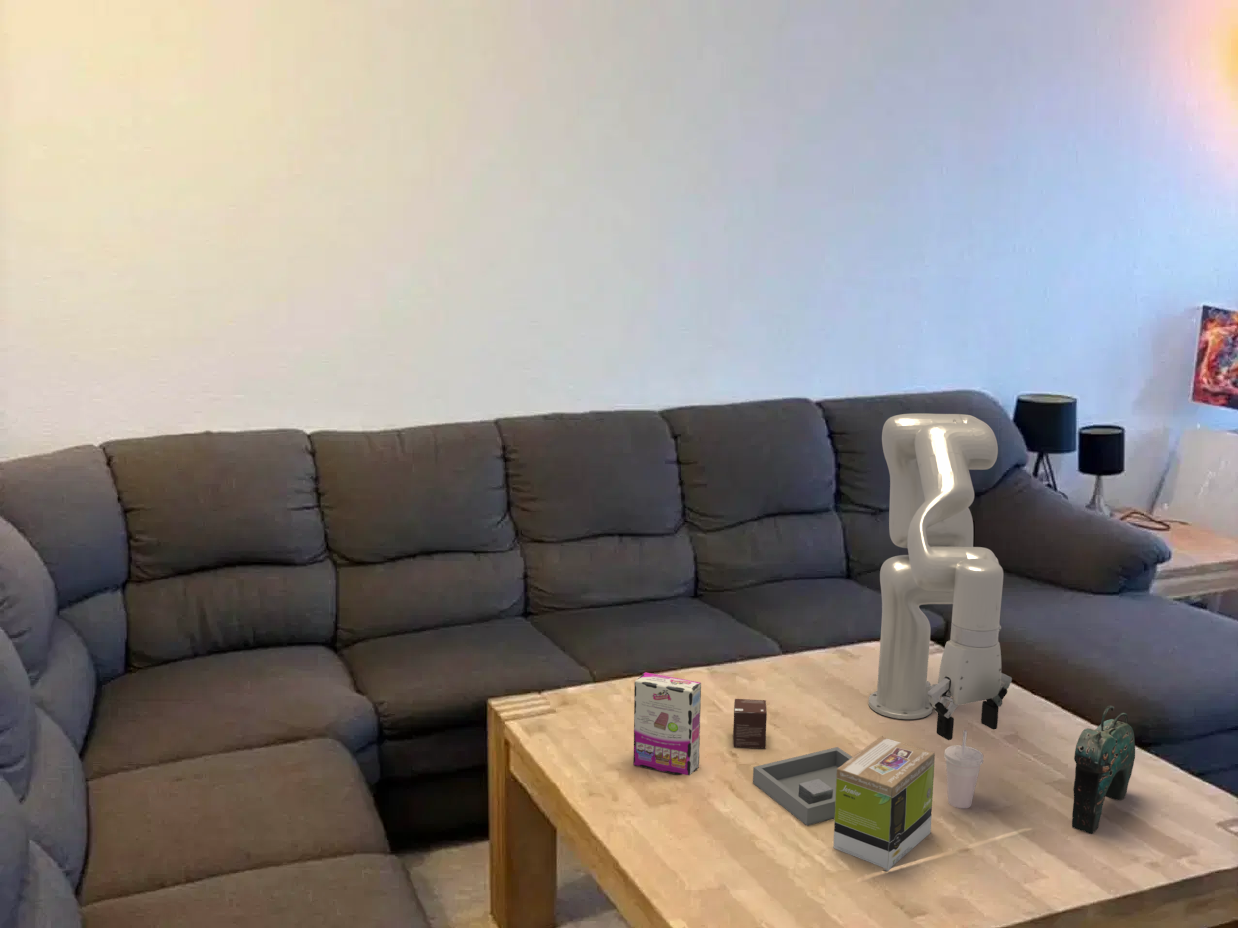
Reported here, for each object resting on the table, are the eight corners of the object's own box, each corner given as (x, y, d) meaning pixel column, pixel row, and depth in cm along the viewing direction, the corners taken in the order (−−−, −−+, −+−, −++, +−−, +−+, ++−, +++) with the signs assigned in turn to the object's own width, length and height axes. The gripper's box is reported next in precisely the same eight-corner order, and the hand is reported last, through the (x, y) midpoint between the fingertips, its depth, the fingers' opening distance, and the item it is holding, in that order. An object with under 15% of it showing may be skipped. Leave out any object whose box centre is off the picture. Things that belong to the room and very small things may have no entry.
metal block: (817, 800, 211) (818, 778, 210) (831, 810, 208) (833, 789, 207) (797, 805, 209) (799, 783, 209) (812, 816, 206) (813, 794, 205)
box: (765, 735, 237) (766, 699, 235) (765, 749, 231) (767, 713, 229) (732, 733, 237) (734, 697, 236) (732, 747, 231) (734, 711, 230)
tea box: (876, 815, 208) (881, 733, 205) (931, 835, 202) (938, 751, 198) (830, 851, 197) (835, 765, 193) (888, 874, 190) (894, 786, 187)
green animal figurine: (1094, 841, 201) (1108, 726, 196) (1055, 827, 205) (1067, 714, 200) (1137, 796, 216) (1150, 688, 211) (1100, 784, 220) (1112, 678, 215)
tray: (836, 765, 225) (837, 746, 224) (893, 804, 211) (895, 785, 210) (752, 785, 217) (753, 766, 216) (806, 828, 203) (807, 808, 202)
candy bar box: (700, 766, 224) (702, 681, 220) (689, 778, 219) (692, 691, 216) (643, 753, 228) (645, 670, 225) (631, 765, 224) (633, 680, 220)
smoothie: (935, 809, 210) (942, 732, 207) (945, 792, 216) (951, 718, 212) (974, 818, 207) (981, 741, 204) (982, 802, 213) (989, 726, 210)
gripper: (997, 620, 211) (989, 714, 215) (917, 634, 204) (911, 732, 207) (1030, 633, 205) (1021, 730, 208) (949, 649, 197) (941, 750, 201)
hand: (966, 731), depth 208 cm, fingers open, 9 cm apart
